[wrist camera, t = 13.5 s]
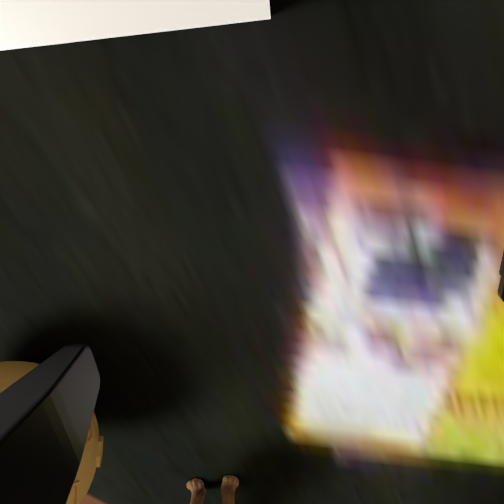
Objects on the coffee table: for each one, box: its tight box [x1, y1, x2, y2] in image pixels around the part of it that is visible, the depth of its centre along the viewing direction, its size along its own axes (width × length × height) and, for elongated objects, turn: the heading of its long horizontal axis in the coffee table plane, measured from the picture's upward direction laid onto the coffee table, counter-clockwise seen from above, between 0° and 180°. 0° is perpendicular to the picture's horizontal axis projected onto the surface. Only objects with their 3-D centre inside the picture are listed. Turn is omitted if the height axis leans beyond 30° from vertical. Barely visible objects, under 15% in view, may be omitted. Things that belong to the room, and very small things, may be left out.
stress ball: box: [0, 361, 103, 504], centre depth 23 cm, size 10×10×10 cm
